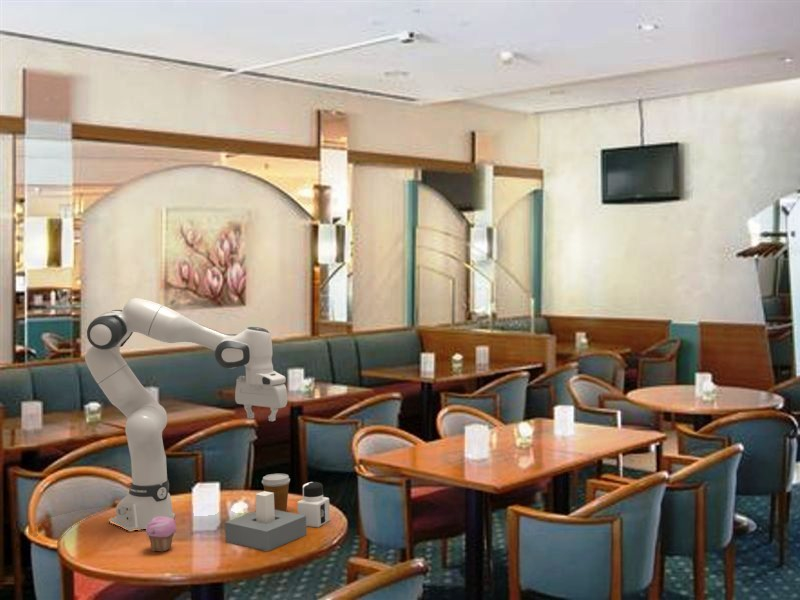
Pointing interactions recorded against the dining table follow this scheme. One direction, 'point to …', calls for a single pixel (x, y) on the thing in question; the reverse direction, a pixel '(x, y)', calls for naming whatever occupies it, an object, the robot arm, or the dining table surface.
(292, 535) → the well block
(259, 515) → the peg
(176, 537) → the dining table surface
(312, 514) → the container
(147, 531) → the cupcake
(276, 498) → the disposable coffee cup
